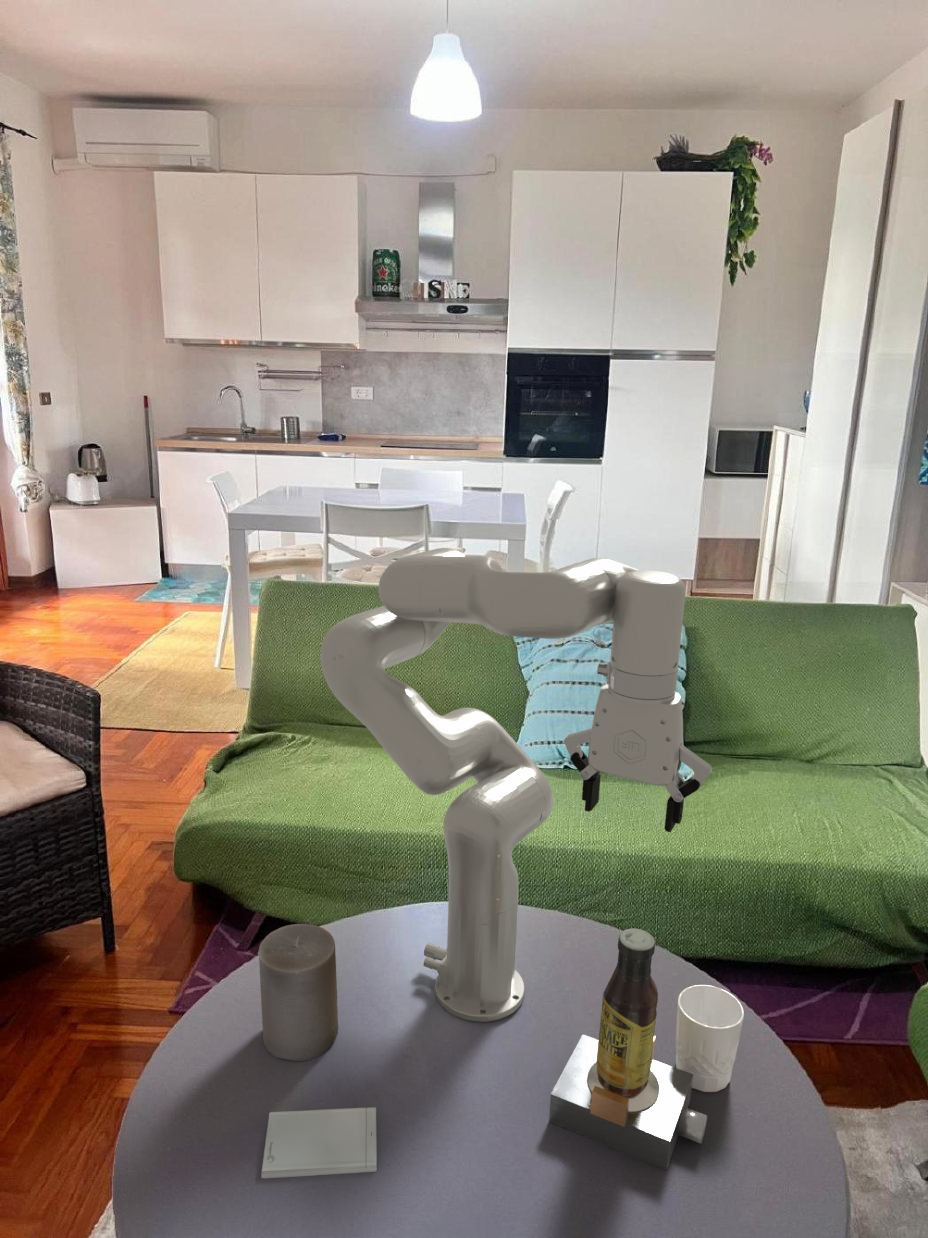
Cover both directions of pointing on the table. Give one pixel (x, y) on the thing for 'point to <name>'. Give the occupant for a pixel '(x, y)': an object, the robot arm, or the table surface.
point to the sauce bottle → (628, 1017)
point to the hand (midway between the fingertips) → (630, 816)
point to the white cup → (707, 1035)
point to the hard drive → (320, 1142)
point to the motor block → (626, 1108)
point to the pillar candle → (298, 991)
